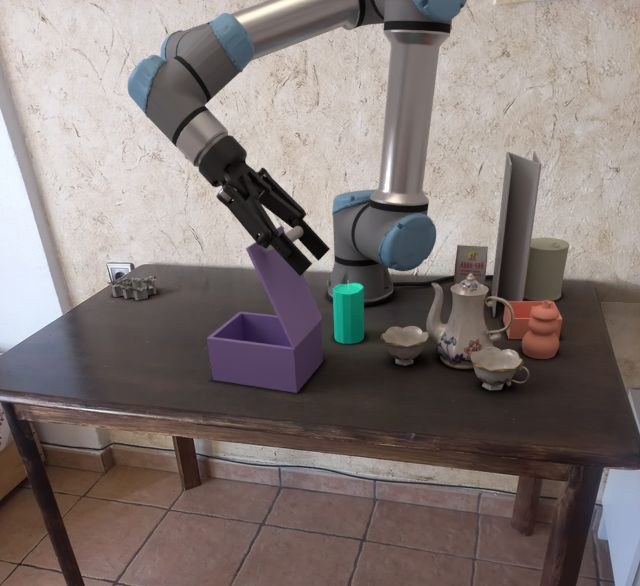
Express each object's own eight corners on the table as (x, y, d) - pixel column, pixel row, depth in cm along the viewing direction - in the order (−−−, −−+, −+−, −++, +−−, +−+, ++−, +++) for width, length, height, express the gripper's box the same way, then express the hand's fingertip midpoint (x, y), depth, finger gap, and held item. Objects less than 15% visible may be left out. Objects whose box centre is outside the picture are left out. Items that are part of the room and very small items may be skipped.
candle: (368, 333, 125) (368, 276, 119) (357, 345, 121) (356, 287, 114) (341, 329, 128) (339, 273, 121) (329, 341, 123) (327, 283, 117)
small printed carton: (455, 284, 147) (458, 242, 141) (484, 286, 145) (488, 244, 139) (453, 290, 144) (456, 247, 138) (482, 292, 142) (487, 249, 136)
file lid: (245, 248, 95) (273, 237, 92) (279, 226, 105) (305, 215, 102) (292, 348, 102) (319, 340, 99) (319, 318, 111) (345, 310, 109)
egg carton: (161, 292, 152) (158, 276, 150) (140, 302, 147) (137, 286, 144) (129, 286, 156) (126, 270, 154) (107, 296, 151) (103, 280, 149)
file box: (213, 380, 112) (206, 338, 107) (244, 350, 121) (239, 311, 117) (297, 393, 106) (293, 349, 102) (323, 361, 116) (321, 320, 111)
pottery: (503, 320, 128) (508, 274, 123) (550, 320, 127) (558, 274, 121) (514, 359, 113) (521, 309, 108) (568, 360, 112) (578, 309, 106)
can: (539, 305, 134) (548, 250, 127) (509, 292, 141) (516, 240, 134) (570, 295, 137) (579, 242, 131) (539, 284, 144) (546, 232, 138)
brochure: (520, 318, 129) (541, 164, 112) (493, 317, 130) (510, 164, 113) (516, 293, 140) (535, 151, 124) (491, 292, 141) (506, 151, 125)
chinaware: (367, 374, 114) (362, 291, 104) (406, 332, 125) (404, 254, 115) (518, 410, 101) (529, 320, 91) (547, 360, 112) (559, 274, 102)
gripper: (231, 158, 106) (323, 258, 109) (166, 182, 90) (275, 298, 94) (255, 123, 101) (351, 229, 104) (191, 143, 85) (305, 267, 89)
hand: (315, 262), depth 99 cm, fingers closed on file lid, 7 cm apart
